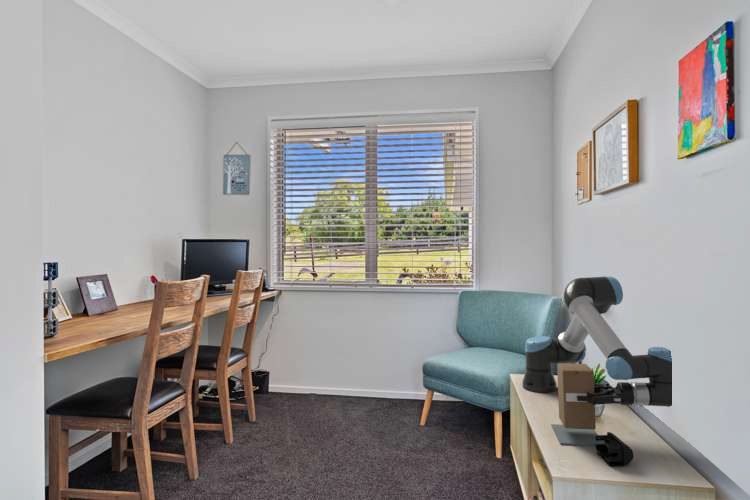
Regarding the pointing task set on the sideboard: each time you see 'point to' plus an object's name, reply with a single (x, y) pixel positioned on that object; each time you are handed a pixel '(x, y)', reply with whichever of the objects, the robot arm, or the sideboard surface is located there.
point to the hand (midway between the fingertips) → (562, 392)
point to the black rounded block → (613, 450)
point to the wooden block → (575, 381)
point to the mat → (575, 436)
